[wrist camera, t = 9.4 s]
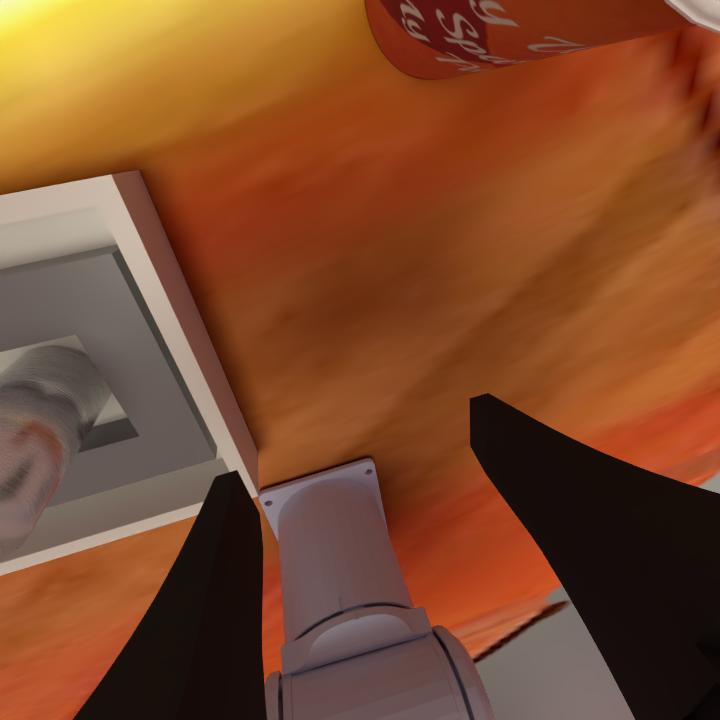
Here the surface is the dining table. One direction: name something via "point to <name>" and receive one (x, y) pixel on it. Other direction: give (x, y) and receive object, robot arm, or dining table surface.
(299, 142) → the dining table surface
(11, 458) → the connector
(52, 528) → the box
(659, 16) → the paper cup
